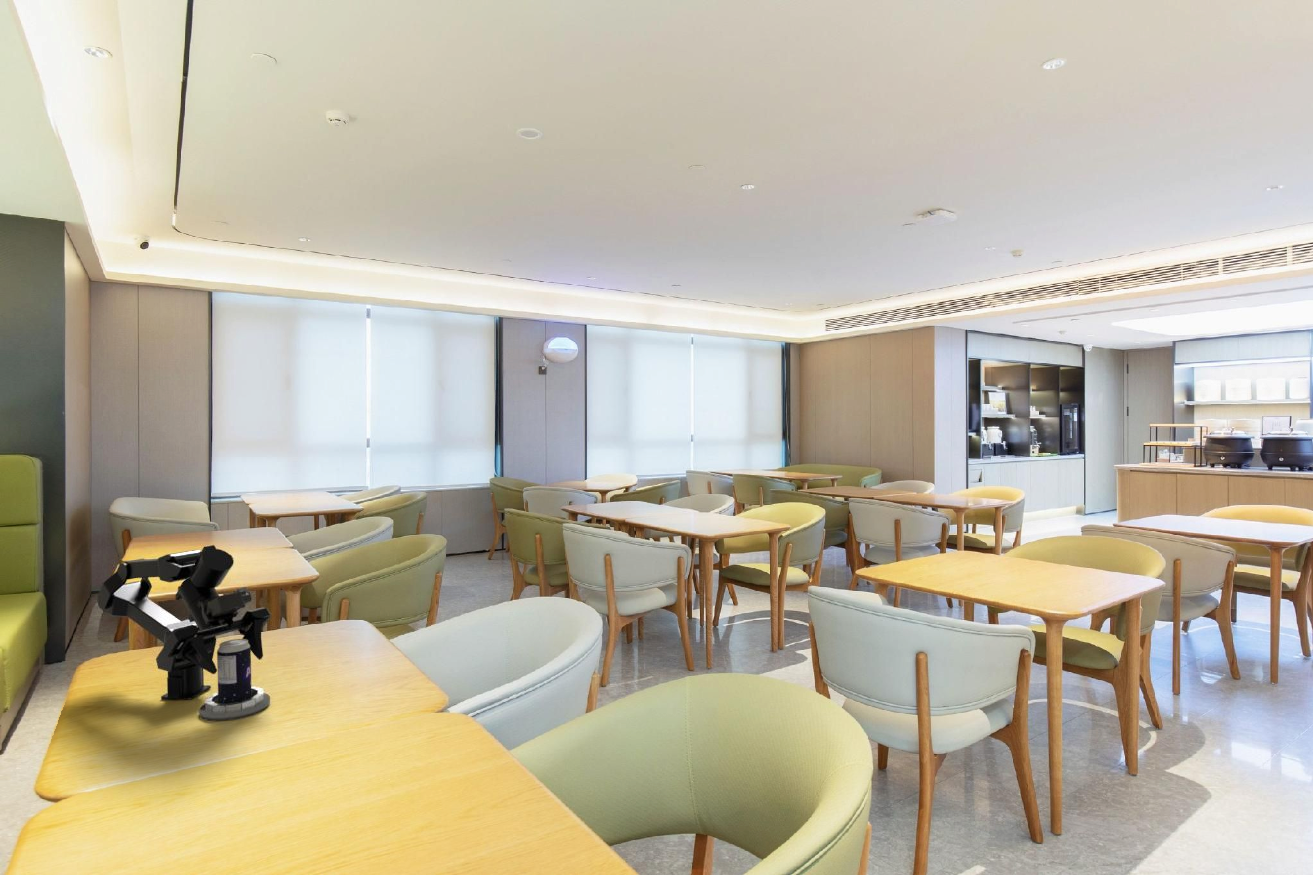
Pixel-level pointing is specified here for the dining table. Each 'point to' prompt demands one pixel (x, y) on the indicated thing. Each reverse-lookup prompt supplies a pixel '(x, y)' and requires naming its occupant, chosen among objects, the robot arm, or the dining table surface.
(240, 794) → the dining table surface
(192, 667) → the robot arm
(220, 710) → the collar base
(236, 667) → the beverage can
